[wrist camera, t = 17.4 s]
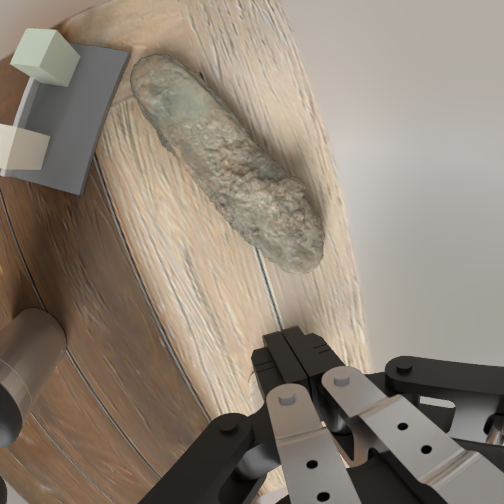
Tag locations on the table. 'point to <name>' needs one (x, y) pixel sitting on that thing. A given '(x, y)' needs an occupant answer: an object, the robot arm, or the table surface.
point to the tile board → (71, 117)
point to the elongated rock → (229, 164)
